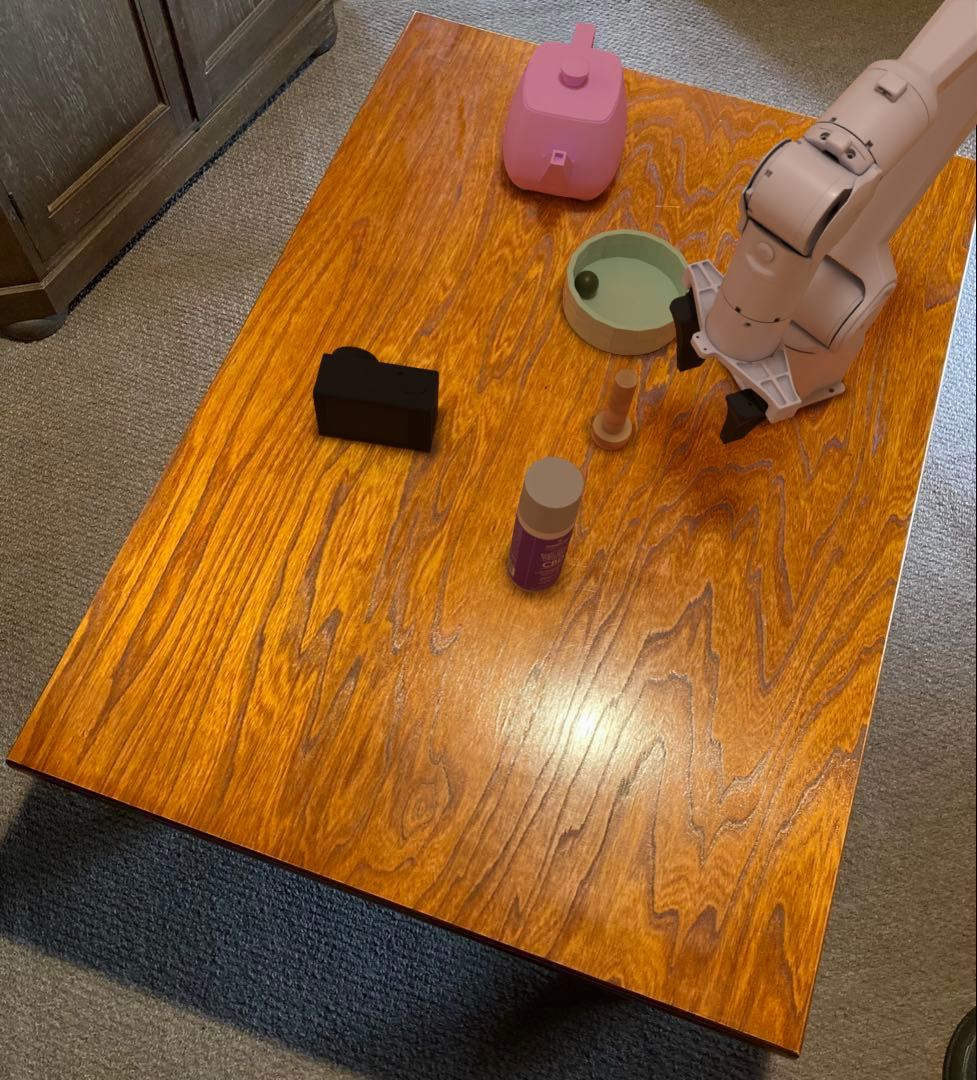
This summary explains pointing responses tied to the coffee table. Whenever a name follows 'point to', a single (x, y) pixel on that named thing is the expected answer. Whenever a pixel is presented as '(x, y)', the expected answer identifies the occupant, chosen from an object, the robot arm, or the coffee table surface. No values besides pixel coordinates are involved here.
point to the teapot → (567, 119)
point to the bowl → (625, 291)
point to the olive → (586, 283)
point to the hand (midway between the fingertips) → (709, 401)
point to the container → (544, 523)
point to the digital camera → (375, 400)
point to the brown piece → (616, 413)
